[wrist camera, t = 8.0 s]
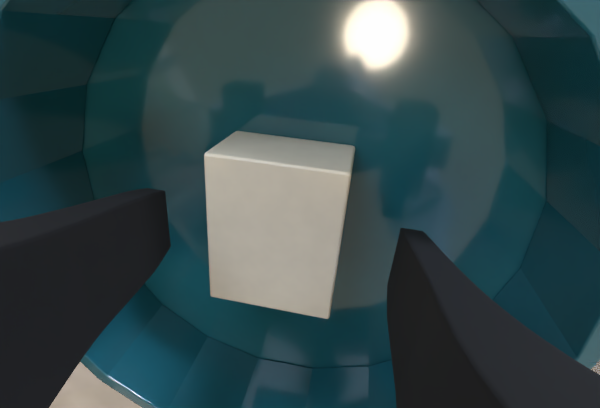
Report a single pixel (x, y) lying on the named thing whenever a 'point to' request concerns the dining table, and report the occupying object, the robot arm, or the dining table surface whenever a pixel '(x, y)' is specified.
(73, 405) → the dining table surface
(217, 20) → the pan
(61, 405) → the dining table surface
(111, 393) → the dining table surface
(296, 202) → the block
